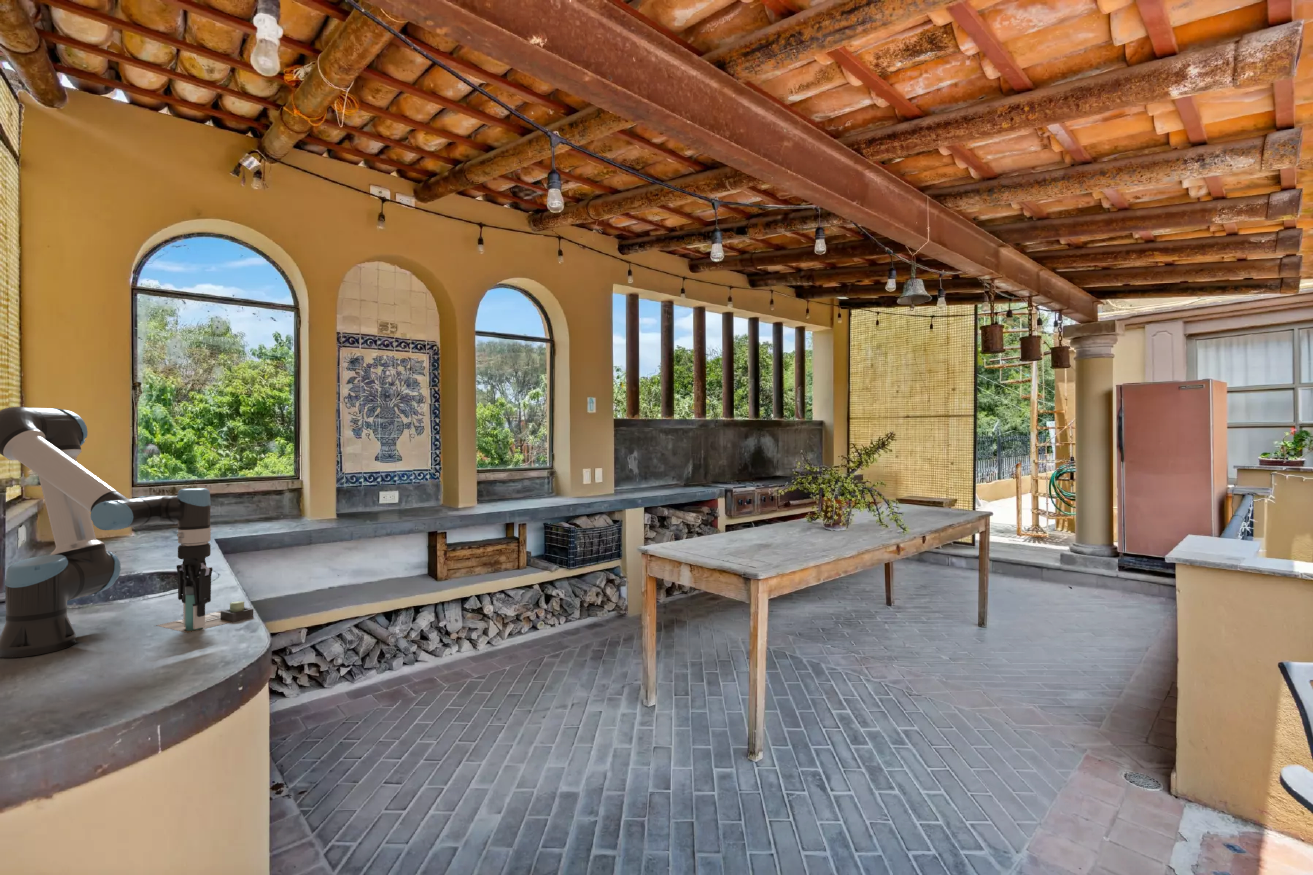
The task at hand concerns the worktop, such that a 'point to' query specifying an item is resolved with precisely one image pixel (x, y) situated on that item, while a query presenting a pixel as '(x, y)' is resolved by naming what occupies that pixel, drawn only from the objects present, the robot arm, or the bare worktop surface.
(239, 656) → the worktop surface
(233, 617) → the clipboard
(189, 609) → the marker
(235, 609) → the button
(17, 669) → the worktop surface
